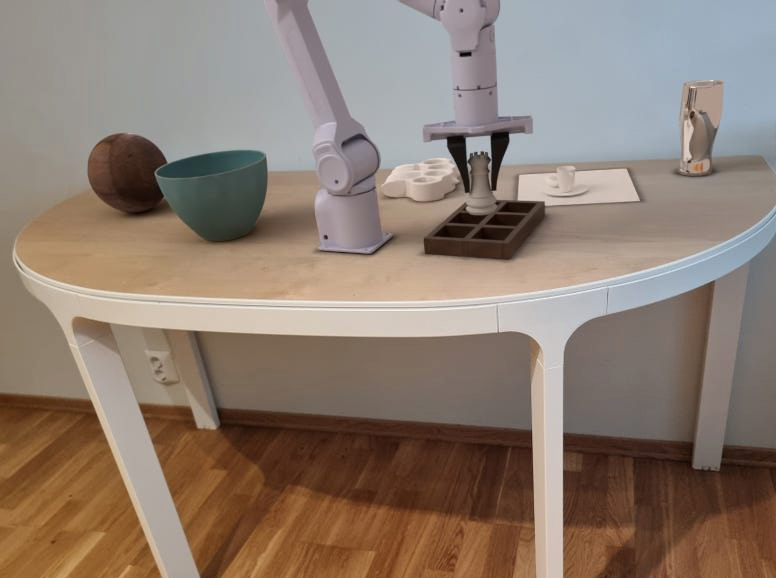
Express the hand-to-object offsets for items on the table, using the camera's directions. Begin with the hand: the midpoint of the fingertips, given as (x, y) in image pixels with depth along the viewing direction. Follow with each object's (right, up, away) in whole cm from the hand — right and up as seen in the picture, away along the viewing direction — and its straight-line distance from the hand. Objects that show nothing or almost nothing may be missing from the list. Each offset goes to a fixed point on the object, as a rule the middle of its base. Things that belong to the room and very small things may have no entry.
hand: (480, 189), depth 97 cm
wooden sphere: (-64, +6, +43) cm, 78 cm away
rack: (+2, -4, +11) cm, 12 cm away
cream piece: (+19, +7, +28) cm, 35 cm away
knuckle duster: (-7, +9, +37) cm, 39 cm away
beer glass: (+41, +10, +29) cm, 51 cm away
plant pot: (-42, -2, +25) cm, 48 cm away
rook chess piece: (0, -3, +2) cm, 3 cm away
